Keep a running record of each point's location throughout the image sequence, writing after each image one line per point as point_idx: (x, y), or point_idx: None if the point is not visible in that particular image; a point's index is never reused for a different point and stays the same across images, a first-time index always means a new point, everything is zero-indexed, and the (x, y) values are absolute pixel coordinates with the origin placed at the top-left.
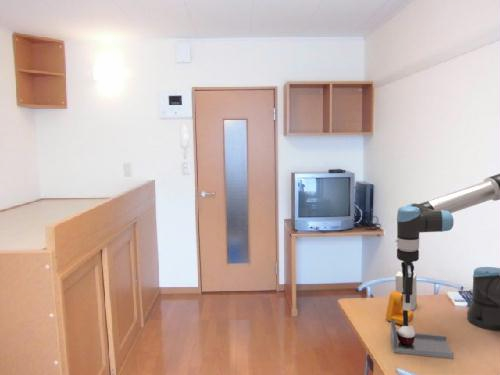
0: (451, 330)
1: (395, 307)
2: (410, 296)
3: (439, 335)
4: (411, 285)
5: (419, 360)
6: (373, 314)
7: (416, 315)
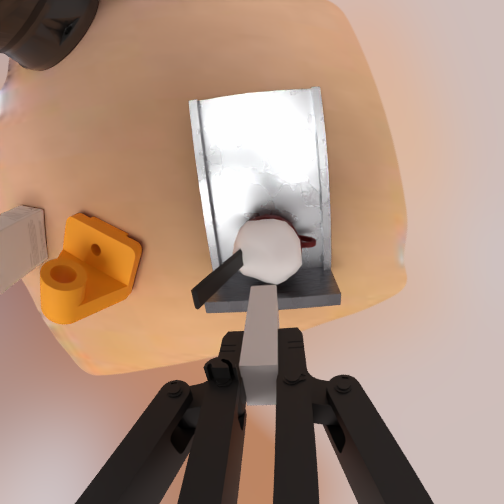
0: (118, 91)
1: (89, 282)
2: (278, 354)
3: (193, 121)
4: (402, 464)
5: (355, 198)
6: (112, 319)
7: (64, 201)
